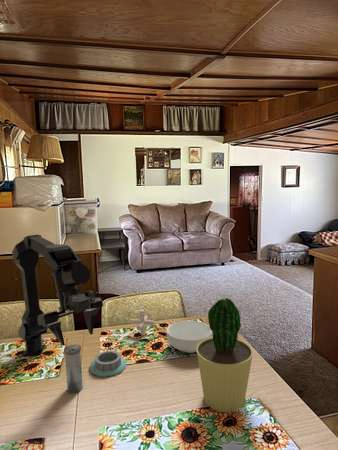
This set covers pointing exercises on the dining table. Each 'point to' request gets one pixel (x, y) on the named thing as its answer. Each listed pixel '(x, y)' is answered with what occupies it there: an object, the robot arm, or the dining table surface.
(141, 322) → the pipe connector
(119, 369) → the collar
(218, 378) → the potted cactus
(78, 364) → the gray tube
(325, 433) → the dining table surface
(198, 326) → the cereal bowl
